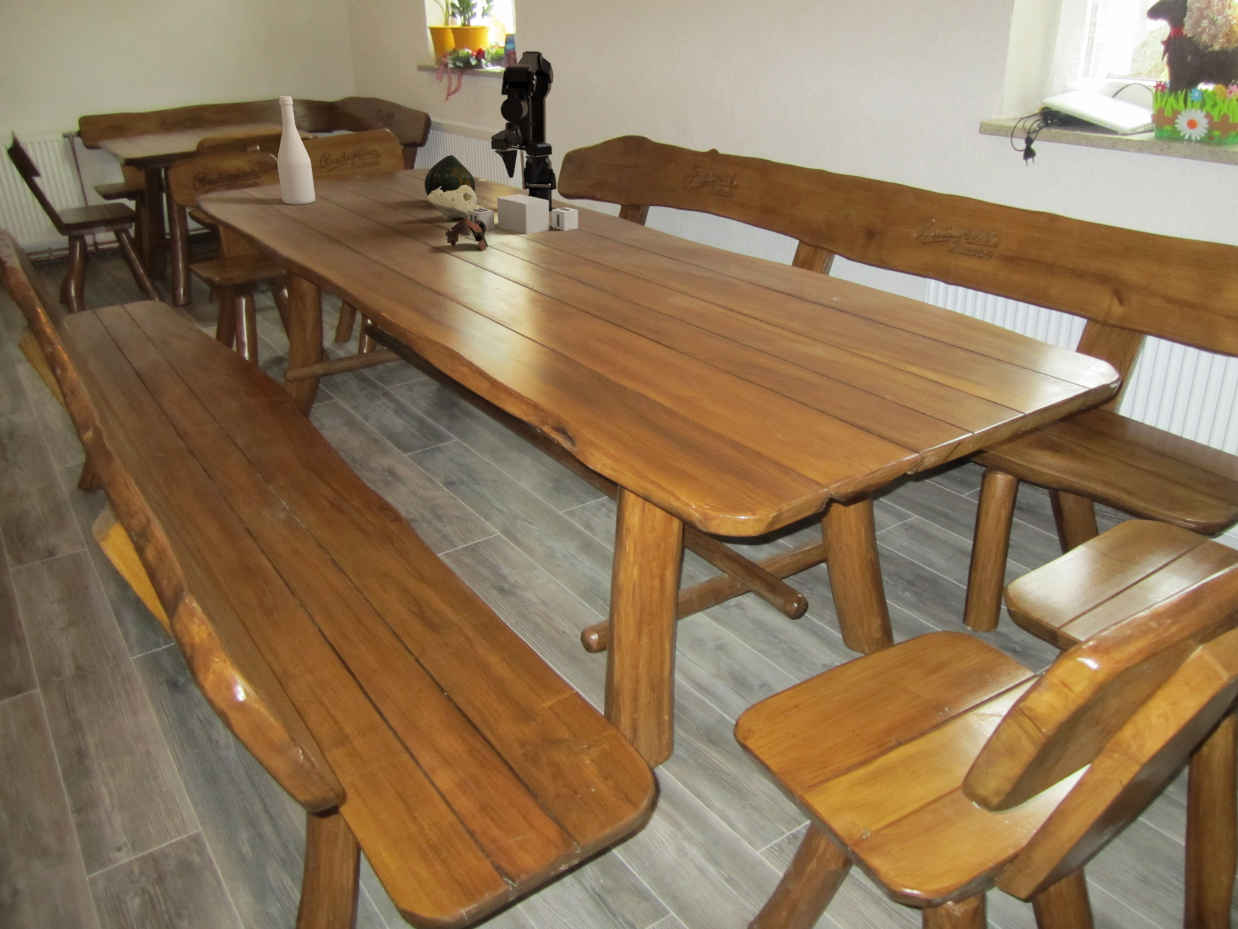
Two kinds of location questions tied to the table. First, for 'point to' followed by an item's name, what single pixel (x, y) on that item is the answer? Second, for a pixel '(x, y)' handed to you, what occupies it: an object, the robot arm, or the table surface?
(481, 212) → the white marked cube
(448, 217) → the cheese
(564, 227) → the striped block one
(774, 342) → the table surface
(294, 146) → the wine bottle
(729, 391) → the table surface
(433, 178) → the squash
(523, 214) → the plain grey block
